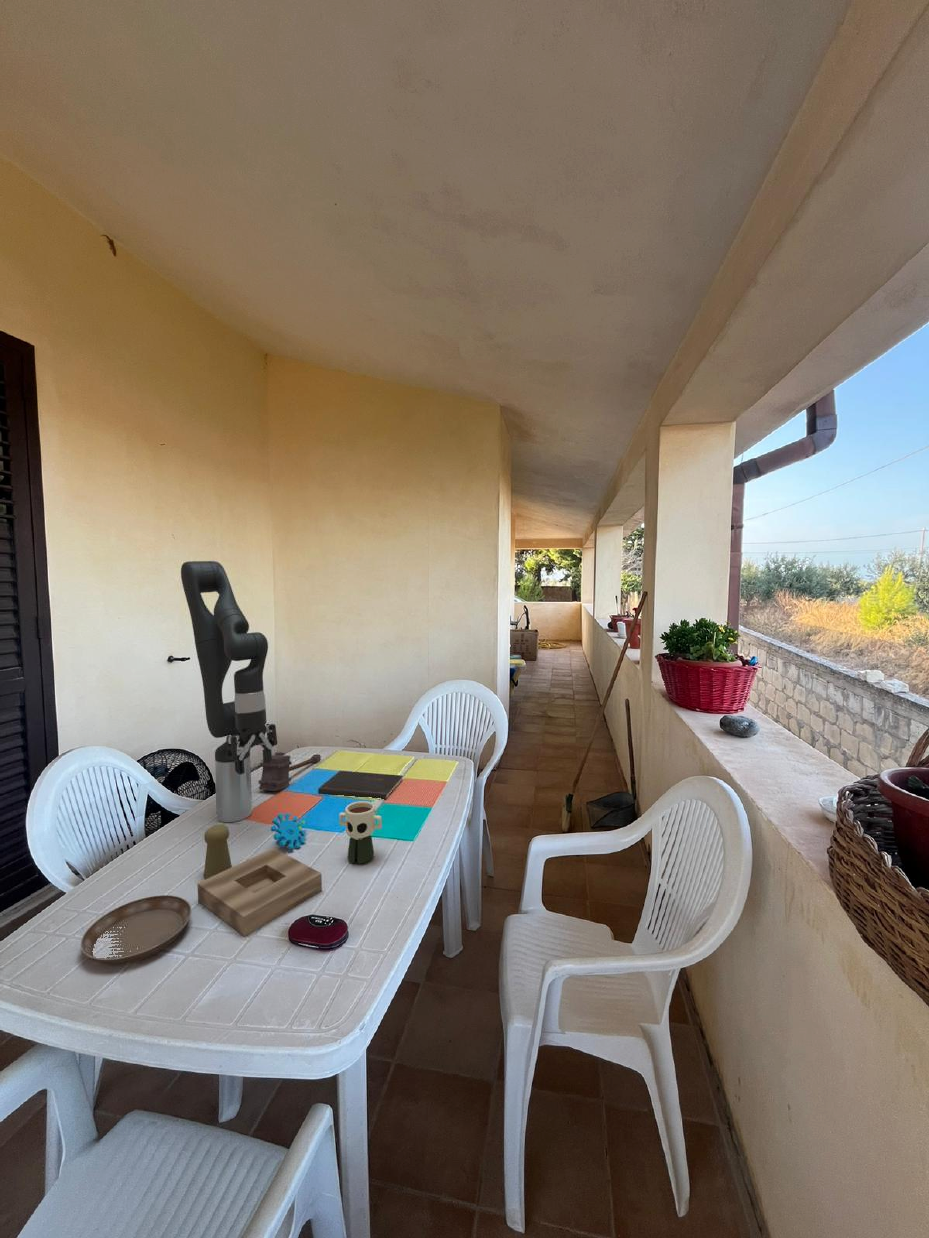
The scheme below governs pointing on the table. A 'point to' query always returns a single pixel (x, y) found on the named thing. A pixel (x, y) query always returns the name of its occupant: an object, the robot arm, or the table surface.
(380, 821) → the character mug
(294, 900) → the socket block
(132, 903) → the plant saucer
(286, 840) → the gear
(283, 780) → the hammer
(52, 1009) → the table surface
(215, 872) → the olive knobbed peg
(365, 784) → the hardcover book
